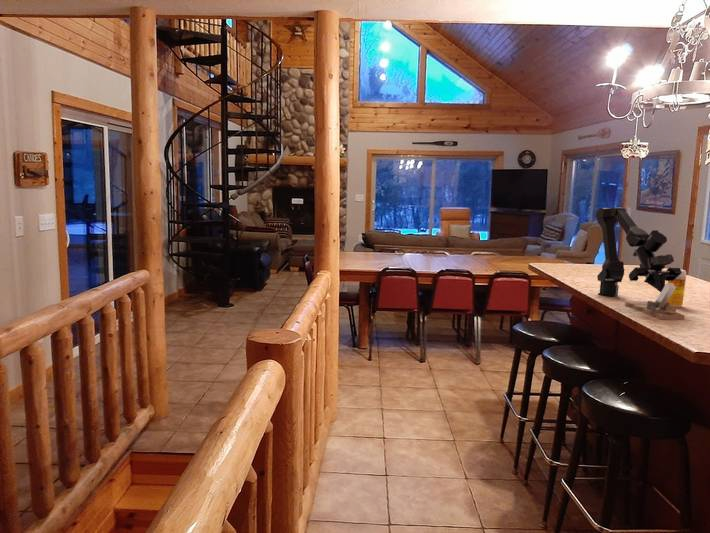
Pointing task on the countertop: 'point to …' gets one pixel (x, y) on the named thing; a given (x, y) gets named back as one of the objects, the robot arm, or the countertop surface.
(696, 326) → the countertop surface
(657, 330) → the countertop surface
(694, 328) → the countertop surface
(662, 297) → the lever
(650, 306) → the base
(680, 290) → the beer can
